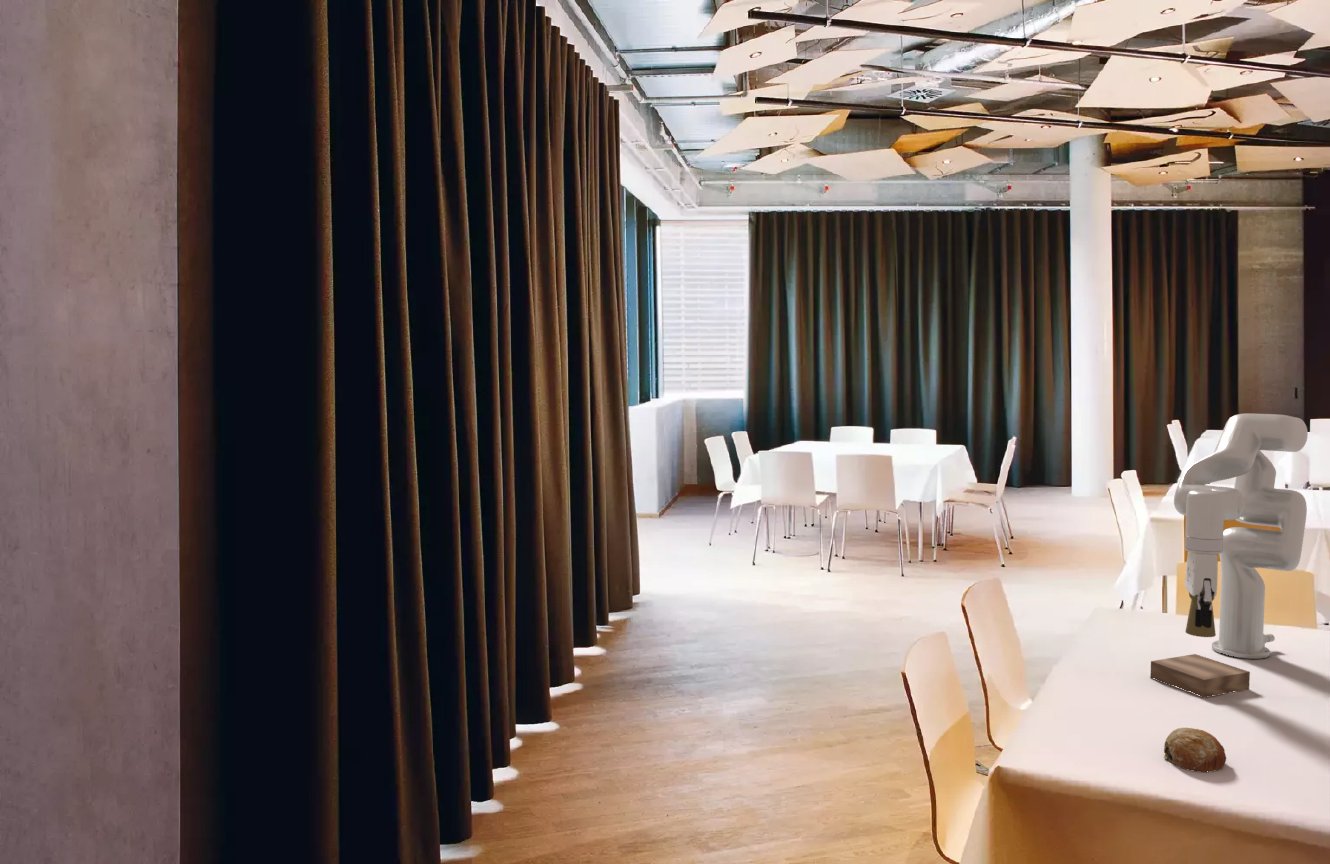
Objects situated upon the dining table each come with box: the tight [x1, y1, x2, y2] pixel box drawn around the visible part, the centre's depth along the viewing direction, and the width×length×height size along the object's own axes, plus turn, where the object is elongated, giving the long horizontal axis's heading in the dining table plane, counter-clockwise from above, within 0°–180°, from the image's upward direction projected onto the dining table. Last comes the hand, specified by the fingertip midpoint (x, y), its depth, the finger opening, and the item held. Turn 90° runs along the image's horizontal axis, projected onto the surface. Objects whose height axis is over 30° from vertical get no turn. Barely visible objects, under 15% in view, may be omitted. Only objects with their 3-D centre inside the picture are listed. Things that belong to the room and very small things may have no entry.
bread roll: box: [1163, 727, 1227, 773], centre depth 177 cm, size 10×10×8 cm
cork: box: [1184, 591, 1216, 638], centre depth 217 cm, size 6×6×11 cm
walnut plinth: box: [1150, 653, 1251, 698], centre depth 218 cm, size 14×14×4 cm
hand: (1200, 623), depth 217 cm, fingers closed on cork, 4 cm apart
